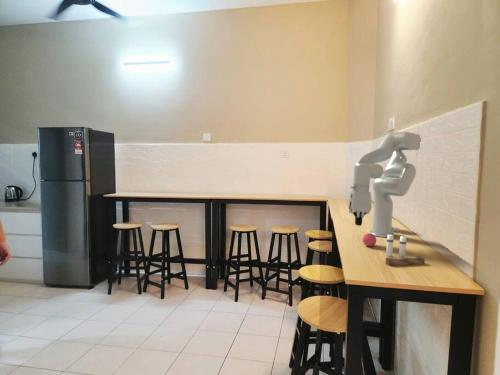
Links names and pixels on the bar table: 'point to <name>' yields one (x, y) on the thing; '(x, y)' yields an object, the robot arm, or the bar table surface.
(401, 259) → the wall
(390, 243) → the front pin
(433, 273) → the bar table surface
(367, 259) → the bar table surface
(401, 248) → the rear pin
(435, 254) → the bar table surface
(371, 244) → the ball
